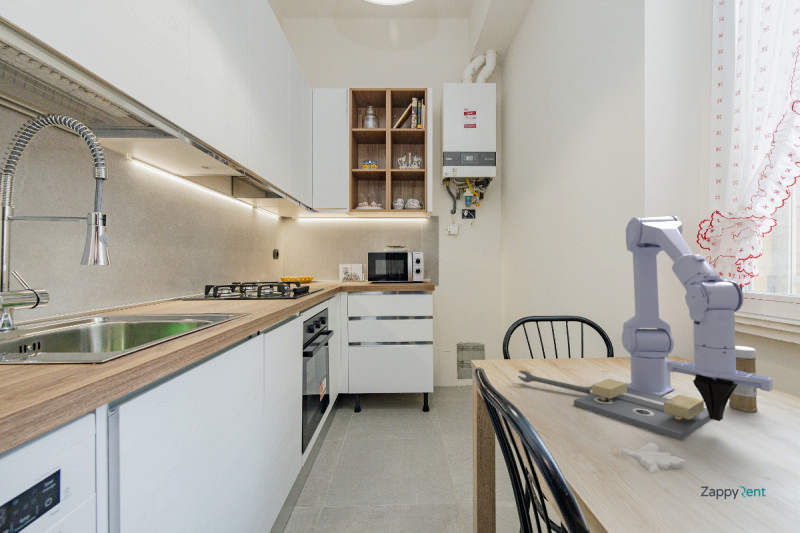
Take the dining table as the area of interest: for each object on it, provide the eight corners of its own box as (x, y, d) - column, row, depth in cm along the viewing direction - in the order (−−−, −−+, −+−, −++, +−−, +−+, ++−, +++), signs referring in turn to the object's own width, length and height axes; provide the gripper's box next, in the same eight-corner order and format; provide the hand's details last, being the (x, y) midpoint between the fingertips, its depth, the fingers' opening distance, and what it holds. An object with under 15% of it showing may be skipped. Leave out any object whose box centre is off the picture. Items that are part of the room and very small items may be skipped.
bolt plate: (613, 389, 89) (613, 372, 89) (715, 416, 72) (714, 395, 72) (573, 405, 79) (573, 385, 79) (680, 440, 62) (679, 416, 62)
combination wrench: (601, 385, 82) (517, 367, 95) (600, 389, 81) (516, 370, 94) (601, 396, 84) (519, 377, 96) (601, 400, 83) (518, 380, 95)
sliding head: (679, 409, 72) (679, 394, 72) (704, 415, 69) (703, 400, 69) (664, 418, 68) (663, 402, 68) (689, 425, 64) (689, 408, 65)
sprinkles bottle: (736, 403, 78) (734, 344, 79) (762, 410, 74) (760, 348, 74) (723, 406, 77) (722, 346, 77) (750, 414, 73) (748, 350, 73)
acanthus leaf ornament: (652, 449, 60) (651, 438, 61) (692, 472, 54) (691, 459, 54) (615, 454, 59) (615, 442, 59) (651, 477, 52) (651, 465, 52)
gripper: (659, 341, 68) (661, 410, 68) (763, 356, 56) (766, 440, 56) (673, 337, 72) (675, 402, 72) (774, 350, 60) (777, 428, 60)
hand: (716, 418), depth 64 cm, fingers closed
